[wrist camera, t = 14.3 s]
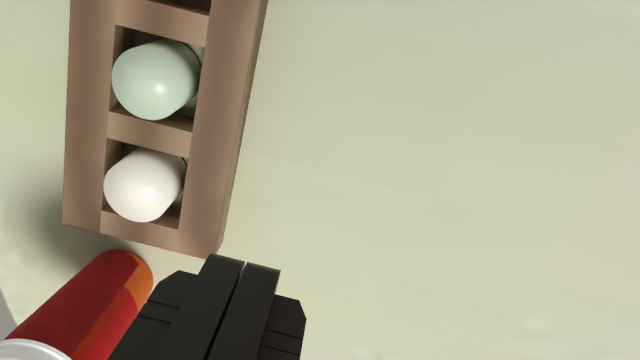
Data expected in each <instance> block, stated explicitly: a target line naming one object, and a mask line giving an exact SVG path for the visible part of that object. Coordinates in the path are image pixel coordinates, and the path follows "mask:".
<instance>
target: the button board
mask: <svg viewBox="0 0 640 360" xmlns="http://www.w3.org/2000/svg"><path fill="white" fill-rule="evenodd" d="M267 3H268V0H212V1H211V8H210V10H208V9H204V8H200V7H196V6H193V5H189V4H185V3H181V2H177V1H173V0H71V4H70V30H69V56H68V81H67V107H66V133H65V159H64V184H63V210H62V223H63V224H67V225H71V226H75V227H79V228H83V229H87V230H91V231H95V232H99V233H103V234H107V235H111V236H115V237H119V238H123V239H126V240H130V241H134V242H138V243H142V244H146V245H150V246H154V247H158V248H162V249H166V250H170V251H174V252H178V253H182V254H186V255H190V256H194V257H198V258H202V259H206V260H207V258H208V256H209V255H210V253H213V254H216V253H217V251H218V249H219V248H220V246H221V244H222V241H223V236H224V231H225V226H226V220H227V215H228V210H229V204H230V199H231V194H232V188H233V183H234V178H235V173H236V167H237V162H238V157H239V151H240V146H241V141H242V136H243V130H244V125H245V120H246V114H247V109H248V104H249V99H250V93H251V88H252V83H253V77H254V72H255V67H256V61H257V56H258V51H259V46H260V40H261V35H262V30H263V24H264V19H265V14H266V9H267ZM134 29H135V30H139V31H143V32H147V33H151V34H154V35H158V36H162V37H166V38H170V39H174V40H177V41H181V42H185V43H189V44H193V45H197V46H200V47H204V48H205V49H204V56H203V63H202V69H201V76H200V83H199V90H198V97H197V104H196V110H195V117H194V118H191V117H187V116H183V115H179V114H175V113H172V114H171V115H169V116H168V117H166V118H163V119H159V120H147V119H143V118H140V117H137V116H135V115H133V114H132V113H130V112H129V111H128V110H126V109H125V108H124V107H123V106H122V104H121V103H120V102H119V100H118V99H117V97H116V95H115V93H114V90H113V86H112V69H113V66H114V64H115V62H116V60H117V59H118V57H119V56H120V55H121V54H122V53H124V52H125V51H127V50H129V49H131V48H132V45H133V34H134ZM124 142H126V143H130V144H133V145H137V146H141V147H145V148H149V149H153V150H157V151H161V152H165V153H169V154H173V155H176V156H180V157H184V158H188V165H187V172H186V179H185V186H184V193H183V200H182V206H181V210H179V209H175V208H171V207H168V208H167V209H166V211H165V212H164V213H163V214H162V215H161V216H160V217H158V218H157V219H155V220H153V221H149V222H135V221H131V220H128V219H126V218H124V217H122V216H121V215H119V214H118V213H117V212H116V211H114V210H113V208H112V207H111V206H110V205H109V203H108V201H107V199H106V197H105V194H104V188H103V184H104V179H105V176H106V174H107V172H108V171H109V170H110V169H111V168H112V167H113V166H114V165H115V164H117V163H118V162H119V161H121V160H122V158H123V146H124Z"/></svg>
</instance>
